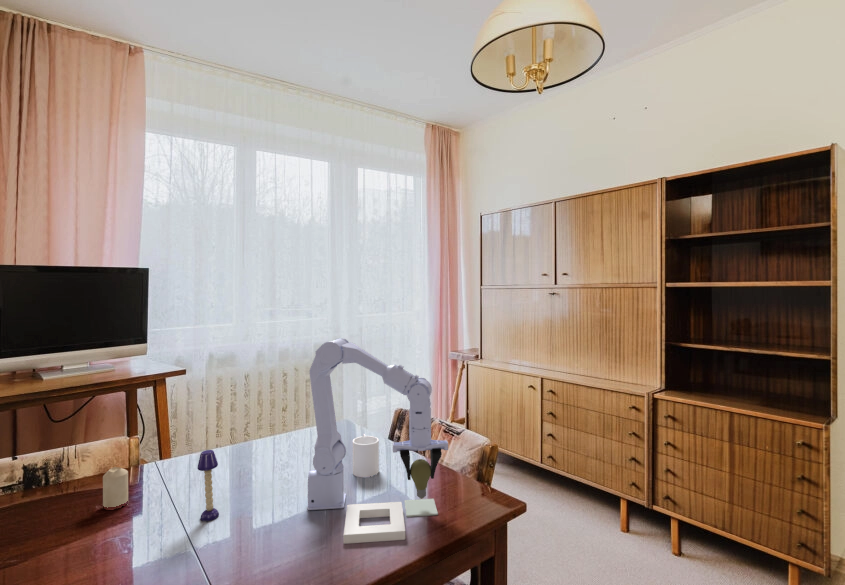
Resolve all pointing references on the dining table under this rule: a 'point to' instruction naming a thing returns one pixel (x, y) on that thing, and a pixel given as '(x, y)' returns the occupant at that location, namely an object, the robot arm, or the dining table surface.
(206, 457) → the toy lamp
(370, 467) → the cup
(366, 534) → the socket block
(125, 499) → the candle
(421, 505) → the rubber pad
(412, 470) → the light bulb
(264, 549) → the dining table surface
